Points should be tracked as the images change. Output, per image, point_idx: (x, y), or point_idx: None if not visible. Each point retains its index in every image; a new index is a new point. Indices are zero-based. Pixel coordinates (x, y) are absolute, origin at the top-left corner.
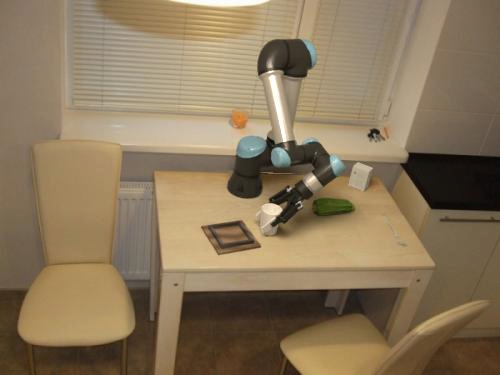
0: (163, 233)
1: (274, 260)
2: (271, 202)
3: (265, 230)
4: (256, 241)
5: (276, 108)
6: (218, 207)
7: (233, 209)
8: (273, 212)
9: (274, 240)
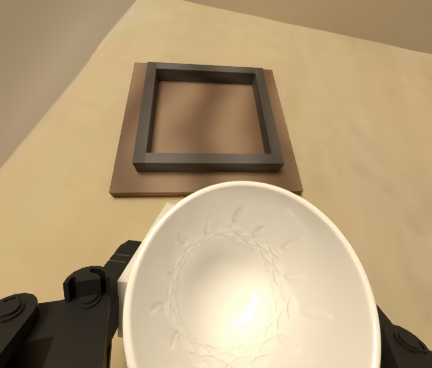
0: (254, 16)
1: (4, 214)
2: (407, 361)
3: None
4: (145, 186)
5: None
6: (385, 151)
7: (383, 196)
8: (295, 352)
9: None
